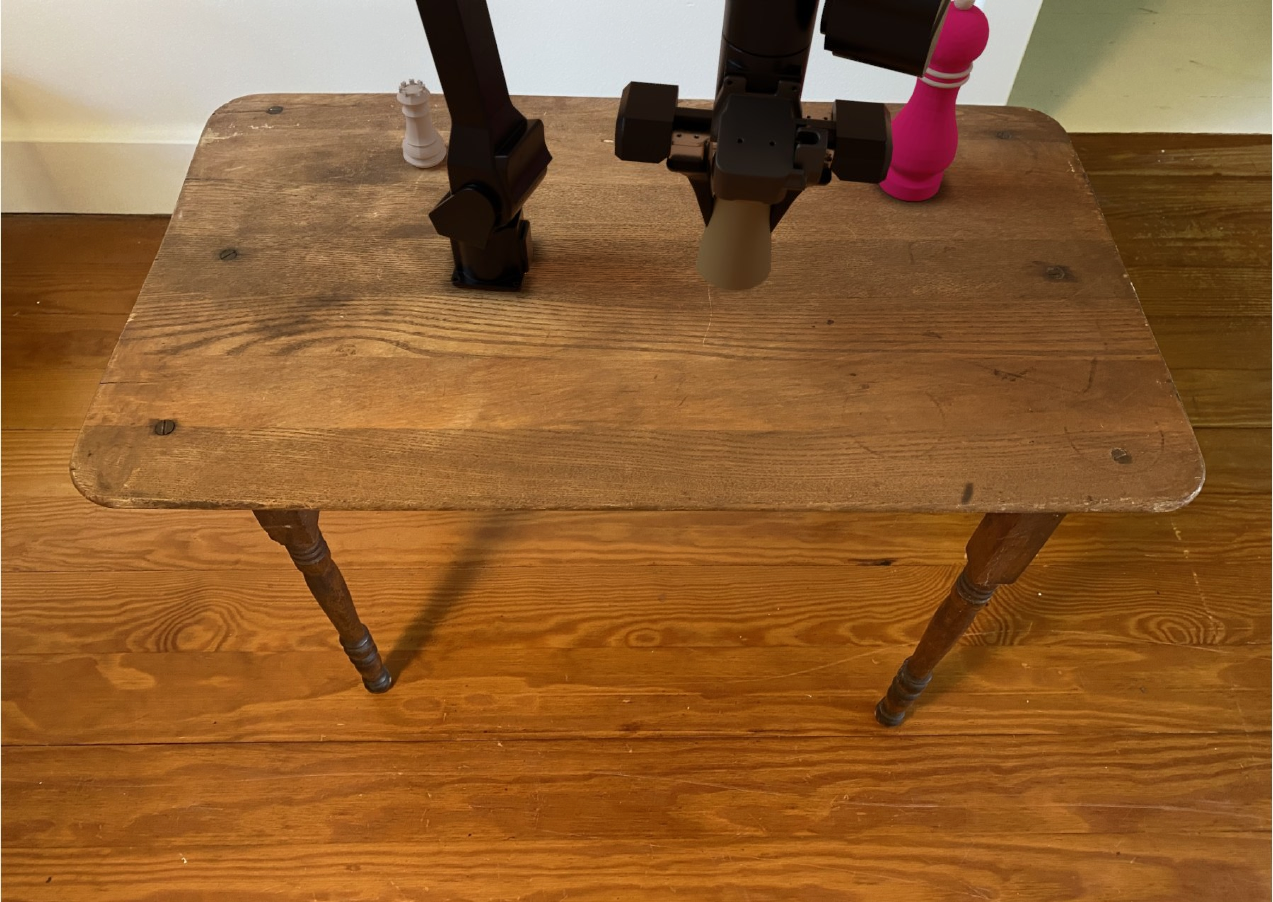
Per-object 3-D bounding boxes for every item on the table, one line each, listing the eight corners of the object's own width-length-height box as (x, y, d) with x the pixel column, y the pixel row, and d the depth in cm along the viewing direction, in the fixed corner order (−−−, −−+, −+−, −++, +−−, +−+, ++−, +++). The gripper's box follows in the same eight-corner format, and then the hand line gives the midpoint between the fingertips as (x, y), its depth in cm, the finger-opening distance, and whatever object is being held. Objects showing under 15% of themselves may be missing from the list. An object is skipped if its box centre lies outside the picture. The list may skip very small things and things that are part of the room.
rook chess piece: (444, 170, 94) (431, 100, 87) (400, 169, 94) (384, 99, 87) (450, 144, 96) (438, 73, 90) (407, 143, 96) (392, 72, 90)
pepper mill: (953, 176, 95) (1022, -17, 79) (927, 214, 91) (994, 20, 75) (889, 152, 97) (943, -41, 81) (861, 188, 94) (911, -6, 77)
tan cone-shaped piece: (765, 296, 72) (787, 180, 63) (689, 283, 72) (700, 166, 63) (776, 245, 75) (798, 128, 66) (703, 233, 76) (715, 116, 67)
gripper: (603, 93, 54) (604, 288, 66) (925, 122, 53) (864, 314, 65) (626, -5, 60) (622, 190, 73) (913, 19, 59) (859, 212, 72)
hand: (738, 226), depth 70 cm, fingers closed on tan cone-shaped piece, 4 cm apart
